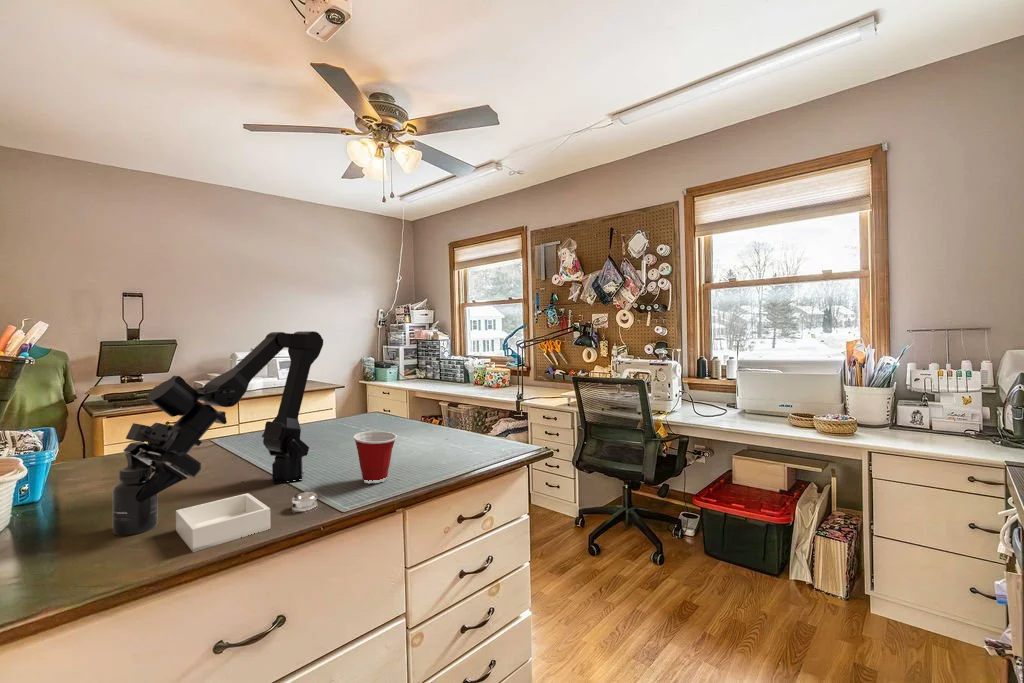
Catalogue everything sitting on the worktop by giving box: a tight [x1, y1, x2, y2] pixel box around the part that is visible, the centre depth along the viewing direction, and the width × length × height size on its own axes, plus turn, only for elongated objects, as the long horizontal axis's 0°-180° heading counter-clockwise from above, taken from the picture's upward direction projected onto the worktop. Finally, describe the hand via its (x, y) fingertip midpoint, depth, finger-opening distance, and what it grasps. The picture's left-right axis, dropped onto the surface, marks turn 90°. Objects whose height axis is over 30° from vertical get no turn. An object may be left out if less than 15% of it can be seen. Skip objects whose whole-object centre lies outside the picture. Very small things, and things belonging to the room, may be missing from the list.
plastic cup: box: [353, 430, 398, 481], centre depth 116 cm, size 11×11×12 cm
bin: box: [175, 493, 272, 553], centre depth 87 cm, size 13×13×4 cm
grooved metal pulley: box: [291, 491, 318, 511], centre depth 98 cm, size 5×3×5 cm
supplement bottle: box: [111, 465, 159, 537], centre depth 87 cm, size 7×7×12 cm
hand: (127, 497), depth 86 cm, fingers open, 8 cm apart
